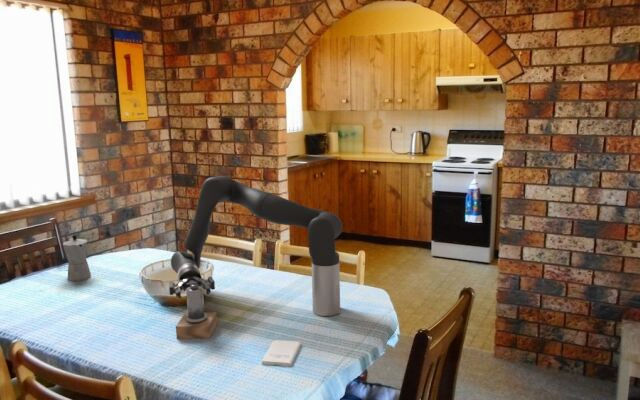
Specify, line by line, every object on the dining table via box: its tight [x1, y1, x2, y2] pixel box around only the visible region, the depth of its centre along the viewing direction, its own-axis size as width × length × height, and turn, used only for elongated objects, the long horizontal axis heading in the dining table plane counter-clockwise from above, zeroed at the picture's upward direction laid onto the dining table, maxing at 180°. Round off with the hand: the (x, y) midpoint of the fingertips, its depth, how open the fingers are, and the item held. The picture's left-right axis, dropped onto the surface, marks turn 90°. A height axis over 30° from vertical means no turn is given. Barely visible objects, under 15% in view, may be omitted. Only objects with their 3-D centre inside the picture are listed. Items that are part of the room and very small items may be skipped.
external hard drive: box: [261, 339, 302, 367], centre depth 149 cm, size 2×8×12 cm
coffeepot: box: [62, 234, 92, 282], centre depth 215 cm, size 15×9×18 cm, turn 44°
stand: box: [175, 312, 218, 340], centre depth 164 cm, size 10×10×4 cm
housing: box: [185, 284, 207, 324], centre depth 163 cm, size 6×6×11 cm
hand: (193, 293), depth 165 cm, fingers open, 8 cm apart
